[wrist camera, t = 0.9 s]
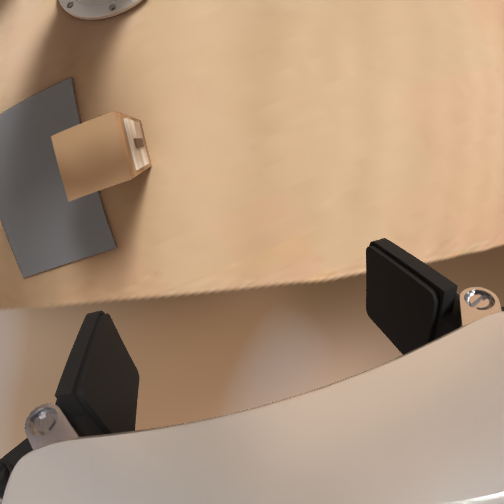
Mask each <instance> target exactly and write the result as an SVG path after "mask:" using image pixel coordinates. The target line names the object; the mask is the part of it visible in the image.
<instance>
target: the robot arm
mask: <svg viewBox="0 0 504 504" xmlns="http://www.w3.org/2000/svg"><path fill="white" fill-rule="evenodd" d="M142 1H143V0H59V2H60V4H61V6H62V7H63V8H64V10H65V11H66V12H68V13H69V14H70V15H72V16H74V17H77V18H79V19H85V20H99V19H105V18H109V17H112V16H116V15H119V14H121V13H123V12H125V11H128V10H129V9H131V8H133V7H134V6H136V5H138V4H139V3H140V2H142ZM113 9H115V10H113ZM112 10H113V11H112ZM366 275H367V276H366V279H367V281H366V282H367V283H366V285H367V286H366V292H367V293H366V310H367V314H368V316H369V317H370V318H371V319H372V320H373V322H374V323H375V324H376V325H377V326H378V327H379V328H380V329H381V330H382V332H383V333H384V334H385V335H386V336H387V337H388V338H389V339H390V340H391V342H392V343H393V344H394V345H395V346H396V347H397V348H398V350H399V351H400V352H401V353H402V354H403V355H402V356H399V357H397V358H395V359H393V360H391V361H388V362H386V363H383V364H381V365H379V366H376V367H374V368H371V369H369V370H366V371H364V372H361V373H359V374H356V375H354V376H351V377H348V378H345V379H343V380H340V381H337V382H335V383H332V384H329V385H326V386H323V387H320V388H317V389H314V390H312V391H309V392H306V393H302V394H299V395H296V396H293V397H289V398H286V399H283V400H280V401H276V402H272V403H269V404H265V405H262V406H258V407H254V408H251V409H246V410H242V411H238V412H234V413H231V414H226V415H222V416H217V417H213V418H208V419H203V420H198V421H193V422H188V423H182V424H177V425H171V426H165V427H159V428H152V429H145V430H137V431H135V420H136V408H137V397H138V387H139V374H138V371H137V368H136V367H135V365H134V363H133V361H132V359H131V357H130V355H129V353H128V351H127V349H126V347H125V345H124V344H123V342H122V340H121V338H120V336H119V334H118V332H117V329H116V327H115V325H114V323H113V321H112V319H111V317H110V315H109V314H105V313H104V312H103V311H98V312H94V313H89V314H87V315H86V317H85V319H84V321H83V324H82V326H81V328H80V331H79V333H78V335H77V338H76V341H75V343H74V345H73V348H72V350H71V353H70V355H69V358H68V361H67V363H66V366H65V369H64V371H63V374H62V377H61V379H60V382H59V385H58V388H57V391H56V394H55V396H56V398H57V401H56V404H55V405H54V404H43V405H41V406H39V407H37V408H35V409H34V410H33V411H32V412H31V413H30V414H29V416H28V417H27V419H26V422H25V433H26V435H27V439H25V440H24V441H23V442H22V443H20V444H19V445H18V446H17V447H15V448H14V449H13V450H11V451H10V452H9V453H8V454H6V455H5V456H4V457H3V458H2V459H0V504H504V307H501V306H500V302H499V299H498V297H497V296H496V295H495V294H494V293H493V292H491V291H489V290H487V289H484V288H480V287H471V288H467V289H465V290H464V291H462V293H461V294H460V295H458V294H457V293H456V291H457V285H456V284H454V283H453V282H451V281H450V280H448V279H447V278H446V277H444V276H443V275H441V274H440V273H438V272H437V271H435V270H434V269H432V268H431V267H429V266H428V265H426V264H425V263H423V262H422V261H420V260H419V259H417V258H416V257H414V256H413V255H411V254H410V253H408V252H406V251H405V250H403V249H402V248H400V247H399V246H397V245H395V244H394V243H392V242H391V241H389V240H387V239H385V238H384V239H380V240H376V241H373V242H371V243H370V245H369V247H367V249H366Z"/></svg>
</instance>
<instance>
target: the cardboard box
mask: <svg viewBox="0 0 504 504" xmlns="http://www.w3.org/2000/svg"><path fill="white" fill-rule="evenodd" d="M51 139H52V143H53V147H54V151H55V155H56V159H57V163H58V167H59V171H60V174H61V178H62V181H63V185H64V188H65V192H66V195H67V198H68V201H72V200H75V199H77V198H80V197H83V196H85V195H88V194H91V193H94V192H97V191H99V190H102V189H105V188H108V187H111V186H114V185H117V184H120V183H123V182H126V181H129V180H132V179H133V178H134V177H136V176H137V175H139V174H140V173H142V172H143V171H144V170H146V169H147V168H149V167H150V166H152V164H151V160H150V156H149V153H148V149H147V145H146V141H145V137H144V132H143V128H142V124H141V121H140V120H137V119H135V118H132V117H129V116H126V115H123V114H121V113H118V112H115V111H112V112H109V113H107V114H104V115H101V116H99V117H96V118H93V119H91V120H88V121H86V122H83V123H81V124H78V125H76V126H73V127H71V128H69V129H66V130H64V131H62V132H59V133H57V134H55V135H53V136H51Z"/></svg>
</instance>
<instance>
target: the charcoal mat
mask: <svg viewBox="0 0 504 504" xmlns="http://www.w3.org/2000/svg"><path fill="white" fill-rule="evenodd" d="M78 124H81V122H80V117H79V113H78V108H77V103H76V98H75V92H74V87H73V81H72V78H69V79H67V80H65V81H62V82H60V83H58V84H56V85H54V86H52V87H50V88H47V89H45V90H43V91H41V92H39V93H37V94H35V95H34V96H32V97H30V98H28V99H26V100H24V101H22V102H21V103H19V104H17V105H15V106H13V107H12V108H10V109H8V110H7V111H5V112H3V113H2V114H0V218H1V221H2V224H3V227H4V230H5V232H6V235H7V238H8V241H9V243H10V246H11V249H12V251H13V254H14V256H15V259H16V261H17V264H18V266H19V268H20V271H21V273H22V275H23V277H24V278H25V277H28V276H31V275H34V274H37V273H40V272H43V271H46V270H49V269H52V268H55V267H58V266H61V265H64V264H67V263H71V262H74V261H77V260H80V259H83V258H86V257H89V256H93V255H96V254H99V253H102V252H106V251H109V250H112V249H115V248H117V246H116V243H115V240H114V237H113V235H112V232H111V229H110V226H109V223H108V220H107V217H106V214H105V211H104V207H103V204H102V201H101V198H100V195H99V191H97V192H94V193H91V194H88V195H85V196H83V197H80V198H77V199H75V200H72V201H68V198H67V195H66V192H65V188H64V185H63V181H62V178H61V174H60V171H59V167H58V163H57V159H56V155H55V151H54V147H53V143H52V139H51V136H53V135H55V134H57V133H59V132H62V131H64V130H66V129H69V128H71V127H73V126H76V125H78Z"/></svg>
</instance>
